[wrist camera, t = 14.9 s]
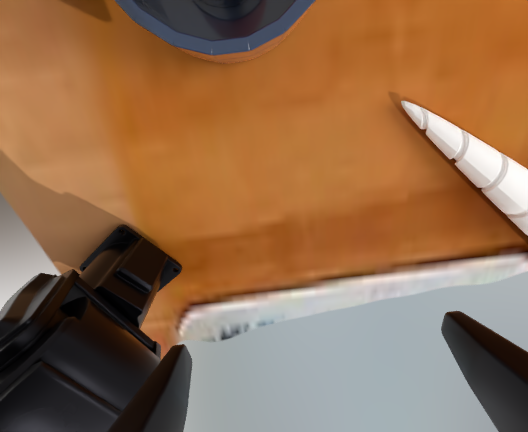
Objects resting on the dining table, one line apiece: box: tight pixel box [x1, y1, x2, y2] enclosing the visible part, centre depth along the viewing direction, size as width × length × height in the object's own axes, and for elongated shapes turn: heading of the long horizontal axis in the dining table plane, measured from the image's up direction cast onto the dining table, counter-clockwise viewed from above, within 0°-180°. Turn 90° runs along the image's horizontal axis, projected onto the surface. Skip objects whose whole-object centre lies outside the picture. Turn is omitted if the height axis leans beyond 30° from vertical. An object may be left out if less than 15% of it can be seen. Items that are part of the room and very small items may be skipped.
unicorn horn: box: [401, 101, 528, 236], centre depth 18 cm, size 5×24×5 cm, turn 54°
